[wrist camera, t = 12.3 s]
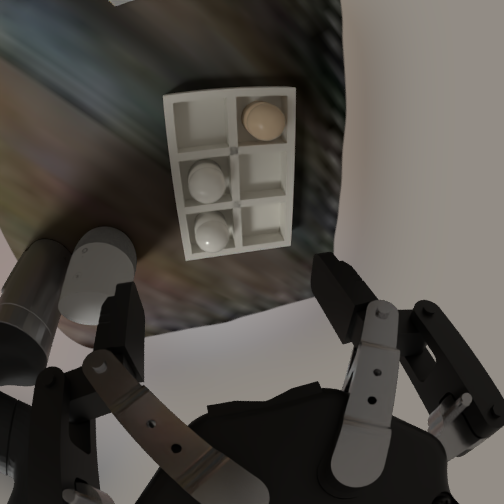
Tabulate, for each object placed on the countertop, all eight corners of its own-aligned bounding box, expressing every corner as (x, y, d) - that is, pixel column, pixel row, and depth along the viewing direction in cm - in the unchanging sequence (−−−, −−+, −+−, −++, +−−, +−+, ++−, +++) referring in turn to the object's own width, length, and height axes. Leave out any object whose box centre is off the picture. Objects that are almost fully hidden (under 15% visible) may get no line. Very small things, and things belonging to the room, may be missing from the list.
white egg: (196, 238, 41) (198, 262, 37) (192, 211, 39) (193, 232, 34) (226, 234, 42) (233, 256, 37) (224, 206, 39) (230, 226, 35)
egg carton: (185, 247, 43) (186, 260, 40) (164, 94, 30) (162, 96, 27) (284, 234, 45) (290, 245, 42) (286, 86, 32) (295, 87, 30)
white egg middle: (189, 193, 37) (191, 212, 33) (186, 161, 35) (186, 176, 30) (223, 188, 38) (229, 207, 33) (221, 157, 35) (227, 171, 31)
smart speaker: (95, 278, 42) (77, 347, 31) (69, 230, 37) (37, 295, 25) (147, 264, 43) (141, 335, 32) (125, 211, 37) (105, 275, 26)
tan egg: (241, 135, 34) (251, 146, 30) (240, 101, 32) (250, 106, 27) (275, 133, 35) (290, 143, 31) (275, 100, 32) (291, 105, 28)
